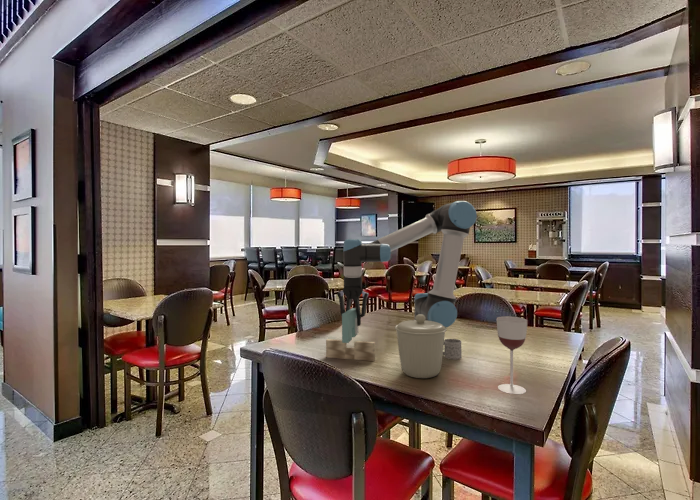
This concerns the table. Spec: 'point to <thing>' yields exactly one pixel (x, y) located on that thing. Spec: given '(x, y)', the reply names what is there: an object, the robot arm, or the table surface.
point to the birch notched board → (350, 350)
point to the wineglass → (511, 345)
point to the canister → (420, 346)
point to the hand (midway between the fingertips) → (353, 333)
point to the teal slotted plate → (348, 325)
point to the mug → (452, 349)
